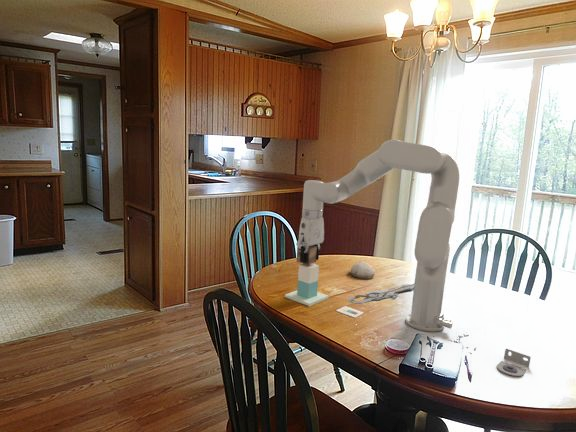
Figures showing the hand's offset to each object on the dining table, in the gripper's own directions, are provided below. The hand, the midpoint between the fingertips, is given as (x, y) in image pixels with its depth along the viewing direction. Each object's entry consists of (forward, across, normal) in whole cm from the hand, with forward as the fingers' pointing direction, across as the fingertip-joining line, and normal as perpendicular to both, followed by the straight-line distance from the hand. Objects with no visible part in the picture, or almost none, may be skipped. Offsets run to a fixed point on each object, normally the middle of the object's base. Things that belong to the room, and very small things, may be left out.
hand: (309, 260), depth 160 cm
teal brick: (+14, 0, 0) cm, 14 cm away
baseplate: (+15, 0, 0) cm, 15 cm away
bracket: (+15, +3, -72) cm, 74 cm away
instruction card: (+15, +1, -19) cm, 24 cm away
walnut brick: (+1, 0, +1) cm, 1 cm away
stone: (+15, +42, +1) cm, 45 cm away
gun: (+16, +28, -20) cm, 38 cm away
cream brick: (+8, 0, 0) cm, 8 cm away
